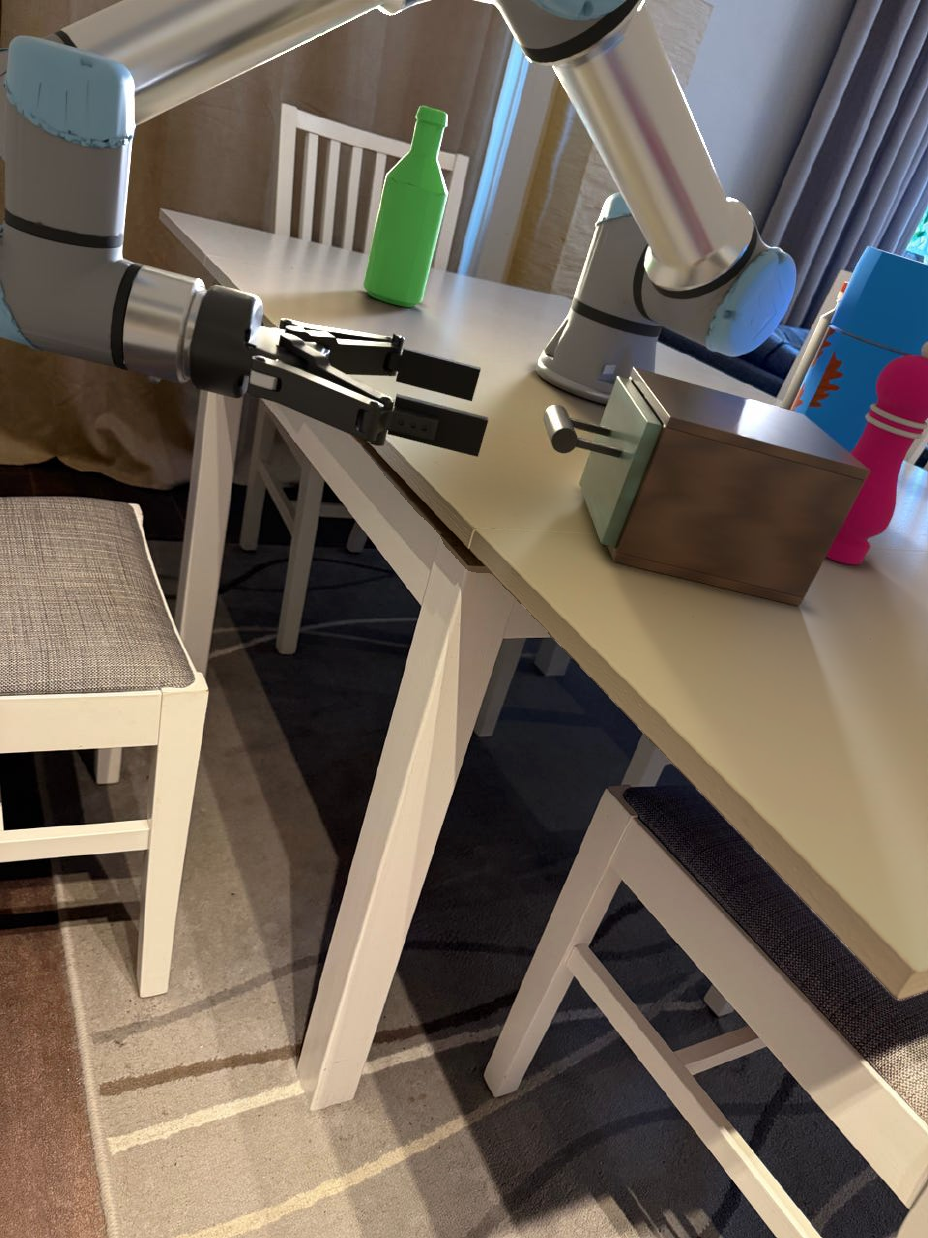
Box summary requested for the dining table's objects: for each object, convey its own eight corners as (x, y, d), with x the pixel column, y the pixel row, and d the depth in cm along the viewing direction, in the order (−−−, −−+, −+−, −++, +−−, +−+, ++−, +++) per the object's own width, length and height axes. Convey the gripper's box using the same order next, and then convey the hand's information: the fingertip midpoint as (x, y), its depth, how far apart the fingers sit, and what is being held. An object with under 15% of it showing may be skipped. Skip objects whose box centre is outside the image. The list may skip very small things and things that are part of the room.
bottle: (412, 312, 126) (458, 116, 114) (354, 293, 127) (394, 96, 115) (426, 304, 134) (471, 119, 122) (371, 286, 134) (411, 101, 123)
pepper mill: (783, 524, 87) (882, 319, 78) (851, 542, 88) (957, 342, 79) (805, 555, 81) (916, 337, 72) (878, 575, 82) (998, 361, 72)
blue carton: (851, 496, 104) (966, 276, 92) (857, 524, 94) (985, 283, 83) (761, 463, 105) (861, 243, 94) (758, 488, 96) (869, 246, 84)
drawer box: (613, 561, 68) (670, 416, 62) (587, 493, 79) (633, 366, 74) (800, 606, 70) (871, 470, 65) (747, 534, 82) (804, 414, 76)
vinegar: (765, 418, 129) (828, 276, 120) (788, 418, 134) (851, 281, 124) (805, 437, 125) (874, 292, 116) (827, 436, 130) (895, 297, 120)
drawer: (531, 527, 67) (573, 402, 62) (518, 468, 77) (553, 358, 73) (775, 586, 70) (833, 471, 65) (730, 522, 81) (777, 419, 76)
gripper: (227, 345, 78) (462, 407, 81) (145, 438, 56) (471, 517, 59) (239, 256, 74) (485, 324, 77) (157, 319, 53) (503, 410, 56)
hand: (479, 408), depth 68 cm, fingers open, 13 cm apart
